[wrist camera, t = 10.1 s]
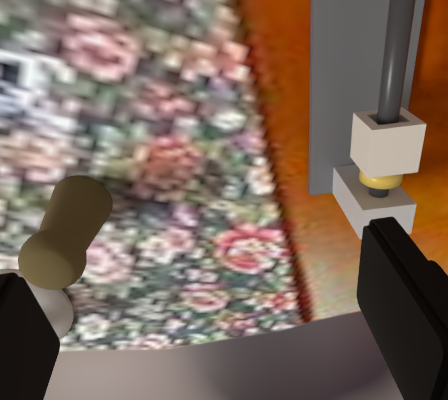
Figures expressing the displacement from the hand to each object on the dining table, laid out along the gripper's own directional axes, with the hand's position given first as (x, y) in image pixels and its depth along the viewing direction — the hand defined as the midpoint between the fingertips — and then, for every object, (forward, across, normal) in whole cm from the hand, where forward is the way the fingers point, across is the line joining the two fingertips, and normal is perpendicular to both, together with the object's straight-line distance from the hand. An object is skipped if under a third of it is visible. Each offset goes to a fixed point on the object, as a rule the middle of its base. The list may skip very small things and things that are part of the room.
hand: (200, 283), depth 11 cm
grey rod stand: (+26, -15, +3) cm, 30 cm away
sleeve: (+22, -14, +7) cm, 27 cm away
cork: (+27, +14, +12) cm, 32 cm away
